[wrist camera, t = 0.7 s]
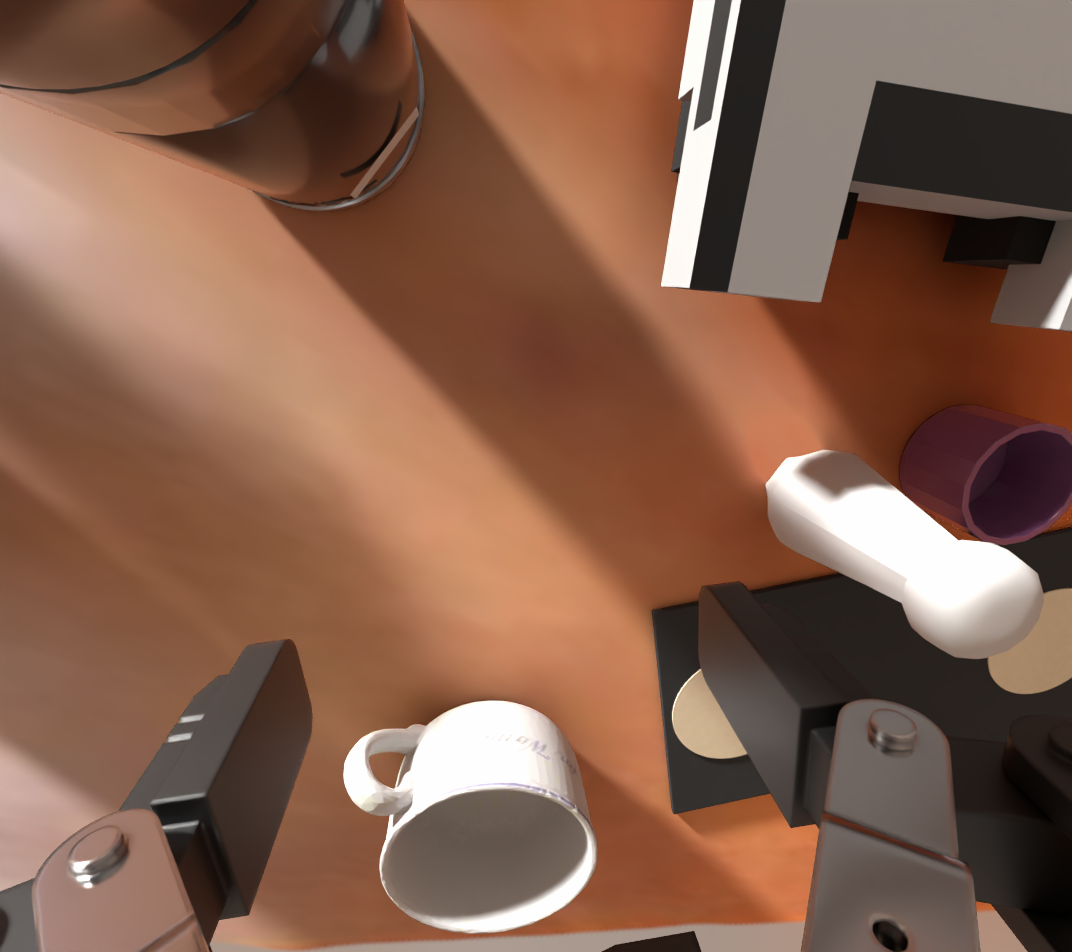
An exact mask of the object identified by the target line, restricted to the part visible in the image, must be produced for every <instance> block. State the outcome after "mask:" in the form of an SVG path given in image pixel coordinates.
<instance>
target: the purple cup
mask: <svg viewBox="0 0 1072 952" xmlns="http://www.w3.org/2000/svg"><path fill="white" fill-rule="evenodd" d="M899 476H900V483H901V486H902V489H903V491H904V493H905V494H906V496H907V497H908V499H909V500H910V501H912V502H913V503H914V504H915V505H917V506H918V507H920V508H922V509H923V510H924V511H926V512H928V513H930V514H932V515H934V516H936V517H937V518H939V519H941V520H943V521H945V522H947V523H949V524H951V525H953V526H955V527H957V528H959V529H961V530H963V531H964V532H966V533H968V534H970V535H972V536H974V537H976V538H978V539H980V540H982V541H985V542H989V543H994V544H999V545H1008V544H1013V543H1018V542H1023V541H1026V540H1029V539H1031V538H1032V537H1034V536H1036V535H1038V534H1040V533H1041V532H1043V531H1045V530H1047V529H1048V528H1050V527H1051V526H1052V525H1053V524H1054V523H1055V522H1056V521H1057V520H1058V519H1059V518H1060V517H1061V516H1062V515H1063V514H1064V513H1065V512H1066V511H1067V510H1068V509H1069V507H1070V505H1071V503H1072V434H1071V433H1070V432H1069V431H1068V430H1067V429H1065V428H1063V427H1059V426H1055V425H1051V424H1047V423H1044V422H1040V421H1036V420H1032V419H1028V418H1024V417H1020V416H1016V415H1012V414H1009V413H1005V412H1001V411H997V410H993V409H989V408H985V407H981V406H977V405H958V406H954V407H950V408H947V409H945V410H942V411H940V412H938V413H937V414H935V415H933V416H932V417H930V418H929V419H928V420H927V421H925V422H924V423H923V424H922V425H921V426H920V427H919V428H918V429H917V430H916V432H915V433H914V434H913V435H912V437H911V438H910V440H909V441H908V443H907V445H906V447H905V449H904V452H903V455H902V458H901V462H900V469H899Z"/></svg>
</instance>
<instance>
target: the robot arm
mask: <svg viewBox="0 0 1072 952" xmlns="http://www.w3.org/2000/svg"><path fill="white" fill-rule="evenodd" d="M0 93H1V94H4V95H7V96H9V97H12V98H14V99H17V100H20V101H22V102H25V103H27V104H30V105H32V106H35V107H38V108H40V109H43V110H45V111H48V112H51V113H53V114H56V115H58V116H62V117H65V118H67V119H70V120H72V121H75V122H77V123H80V124H83V125H85V126H88V127H90V128H93V129H96V130H98V131H101V132H103V133H106V134H108V135H111V136H114V137H116V138H119V139H121V140H124V141H126V142H129V143H132V144H134V145H137V146H139V147H142V148H144V149H147V150H150V151H152V152H155V153H157V154H160V155H163V156H165V157H168V158H170V159H173V160H175V161H178V162H181V163H183V164H186V165H188V166H191V167H193V168H196V169H199V170H201V171H204V172H206V173H209V174H211V175H214V176H217V177H219V178H222V179H224V180H227V181H230V182H232V183H235V184H237V185H240V186H242V187H245V188H247V189H250V190H252V191H254V192H255V193H257V194H259V195H261V196H263V197H265V198H267V199H269V200H272V201H274V202H277V203H279V204H282V205H285V206H288V207H291V208H295V209H300V210H304V211H313V212H332V211H340V210H345V209H349V208H352V207H355V206H358V205H361V204H363V203H365V202H367V201H369V200H371V199H372V198H374V197H376V196H377V195H379V194H380V193H381V192H383V191H384V190H385V189H387V188H388V187H389V186H390V185H391V184H392V183H393V182H394V181H395V180H396V178H397V177H398V176H399V175H400V174H401V172H402V171H403V169H404V168H405V166H406V165H407V163H408V161H409V160H410V158H411V156H412V154H413V152H414V149H415V147H416V144H417V142H418V139H419V135H420V132H421V127H422V122H423V116H424V107H425V89H424V78H423V71H422V66H421V61H420V57H419V53H418V48H417V45H416V42H415V39H414V35H413V33H412V30H411V28H410V24H409V20H408V16H407V12H406V7H405V3H404V0H0ZM698 653H699V662H700V667H701V671H702V674H703V677H704V679H705V682H706V684H707V685H708V687H709V689H710V691H711V692H712V694H713V696H714V697H715V699H716V701H717V703H718V704H719V706H720V708H721V709H722V711H723V713H724V715H725V716H726V718H727V720H728V721H729V723H730V725H731V727H732V728H733V730H734V732H735V733H736V735H737V737H738V739H739V740H740V742H741V744H742V745H743V747H744V749H745V750H746V752H747V754H748V756H749V757H750V759H751V761H752V762H753V764H754V766H755V768H756V769H757V771H758V773H759V774H760V776H761V778H762V780H763V781H764V783H765V785H766V786H767V788H768V790H769V792H770V793H771V795H772V797H773V798H774V800H775V802H776V804H777V805H778V807H779V809H780V810H781V812H782V814H783V816H784V817H785V819H786V821H787V822H788V824H789V826H790V828H794V827H800V826H806V825H812V824H816V825H817V827H818V828H819V836H818V842H817V849H816V855H815V862H814V869H813V875H812V882H811V888H810V895H809V901H808V908H807V915H806V921H805V928H804V935H803V941H802V948H801V952H980V941H979V932H978V922H977V912H976V902H975V901H978V902H984V903H990V904H991V905H992V906H993V907H994V908H995V910H996V911H997V912H998V914H999V915H1000V916H1001V918H1002V919H1003V920H1004V921H1005V923H1006V924H1007V925H1008V927H1009V928H1010V929H1011V930H1012V932H1013V933H1014V934H1015V936H1016V937H1017V938H1018V940H1019V941H1020V942H1021V943H1022V945H1023V946H1024V947H1025V949H1026V950H1027V951H1028V952H1072V720H1071V719H1068V718H1064V717H1059V716H1054V715H1046V714H1030V715H1024V716H1021V717H1019V718H1017V719H1015V720H1014V721H1013V722H1012V723H1011V725H1010V728H1009V732H1008V736H1007V741H1006V742H998V741H988V740H979V739H969V738H959V737H951V736H945V735H944V733H943V732H942V731H941V730H940V728H939V727H938V726H937V725H936V724H935V723H933V722H932V721H931V720H929V719H928V718H927V717H925V716H924V715H922V714H921V713H919V712H917V711H915V710H913V709H911V708H909V707H906V706H904V705H901V704H898V703H895V702H891V701H886V700H880V699H875V698H874V697H873V696H872V695H871V694H870V693H869V692H868V691H867V690H866V689H865V688H864V687H863V686H862V685H861V683H860V682H859V681H858V680H857V679H856V678H855V677H854V676H853V675H852V674H851V673H850V672H849V671H848V670H847V669H846V668H845V667H844V666H843V665H842V664H841V663H840V662H839V661H838V660H837V659H836V658H835V657H834V656H833V654H832V653H831V652H830V651H829V650H825V646H824V645H823V644H822V643H821V642H820V641H819V640H818V639H817V638H816V637H815V636H812V635H811V632H810V631H809V630H808V629H807V628H806V627H805V626H804V624H803V623H802V622H801V621H800V620H799V619H798V618H797V617H796V616H795V615H793V614H791V613H789V612H787V611H786V610H784V609H782V608H780V607H778V606H776V605H775V604H773V603H764V604H761V603H760V602H759V601H758V600H757V599H756V598H755V596H754V595H753V594H752V593H751V592H750V591H749V590H748V589H747V588H746V586H745V585H744V584H743V583H741V582H739V581H737V582H730V583H722V584H714V585H707V586H702V587H701V589H700V593H699V639H698ZM179 720H180V722H179V723H177V724H176V725H175V726H174V728H173V729H172V731H171V732H170V734H169V735H168V737H167V742H166V743H163V745H162V746H161V748H160V749H159V751H158V752H157V754H156V755H155V757H154V758H153V760H152V761H151V763H150V764H149V766H148V767H147V769H146V770H145V772H144V773H143V775H142V776H141V778H140V779H139V781H138V782H137V784H136V785H135V787H134V788H133V790H132V791H131V793H130V794H129V796H128V797H127V799H126V800H125V802H124V803H123V805H122V807H121V808H120V810H119V811H118V812H115V813H112V814H109V815H107V816H104V817H102V818H100V819H98V820H96V821H94V822H92V823H90V824H88V825H87V826H85V827H83V828H82V829H80V830H79V831H77V832H76V833H75V834H73V835H72V836H70V837H69V838H68V839H67V840H66V841H64V842H63V843H62V844H61V845H60V846H59V847H58V848H57V849H56V850H55V851H54V852H53V853H52V854H51V855H50V856H49V857H48V858H47V860H46V861H45V862H44V863H43V865H42V866H41V868H40V869H39V871H38V873H37V875H36V877H35V878H33V879H31V880H28V881H26V882H23V883H21V884H18V885H16V886H13V887H11V888H8V889H6V890H3V891H1V892H0V952H212V949H211V947H210V942H211V939H212V937H213V934H214V932H215V929H216V927H217V924H218V921H219V920H222V919H229V918H235V917H241V916H247V915H249V913H250V910H251V907H252V904H253V902H254V899H255V896H256V893H257V890H258V887H259V884H260V881H261V879H262V876H263V873H264V870H265V867H266V864H267V861H268V859H269V856H270V853H271V850H272V847H273V844H274V841H275V838H276V836H277V833H278V830H279V827H280V824H281V821H282V818H283V815H284V813H285V810H286V807H287V804H288V801H289V798H290V795H291V792H292V790H293V787H294V784H295V781H296V778H297V775H298V772H299V770H300V767H301V764H302V761H303V758H304V755H305V752H306V749H307V747H308V744H309V741H310V737H311V732H312V707H311V702H310V698H309V694H308V691H307V687H306V683H305V679H304V675H303V671H302V668H301V664H300V660H299V656H298V652H297V649H296V646H295V644H294V642H293V641H292V640H290V639H287V640H280V641H272V642H265V643H257V644H250V645H248V646H246V648H245V649H244V650H243V652H242V654H241V655H240V657H239V659H238V660H237V662H236V663H235V665H234V667H233V668H232V670H231V672H230V673H229V674H228V675H220V676H218V677H217V678H215V679H214V680H213V681H212V682H211V683H209V684H208V685H207V686H206V687H205V688H204V689H202V690H201V691H200V692H199V693H198V694H197V695H195V696H194V698H193V699H192V701H191V702H190V704H189V705H188V707H187V708H186V710H185V711H184V713H183V714H182V716H181V717H180V719H179ZM602 952H701V949H700V946H699V943H698V941H697V938H696V935H695V932H694V931H692V932H686V933H680V934H674V935H669V936H663V937H657V938H652V939H646V940H641V941H635V942H629V943H624V944H618V945H614V946H612V947H610V948H609V949H606V950H604V951H602Z"/></svg>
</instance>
